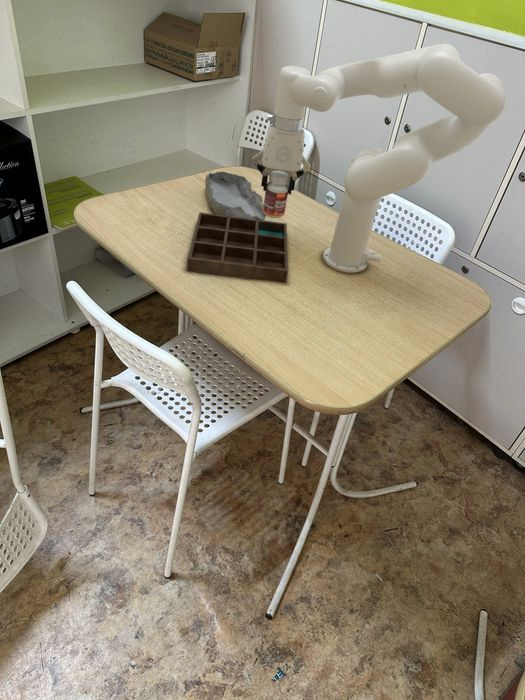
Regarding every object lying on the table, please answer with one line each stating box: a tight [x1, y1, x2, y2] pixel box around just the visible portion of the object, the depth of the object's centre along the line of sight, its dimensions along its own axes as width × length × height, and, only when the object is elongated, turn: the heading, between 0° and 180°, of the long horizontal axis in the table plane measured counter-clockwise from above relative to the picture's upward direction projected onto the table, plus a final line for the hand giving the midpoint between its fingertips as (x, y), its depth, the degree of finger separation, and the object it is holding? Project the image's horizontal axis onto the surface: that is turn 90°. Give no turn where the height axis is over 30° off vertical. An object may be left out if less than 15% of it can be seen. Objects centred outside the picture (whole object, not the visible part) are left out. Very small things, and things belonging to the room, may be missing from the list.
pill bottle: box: [263, 170, 290, 219], centre depth 142 cm, size 6×6×11 cm
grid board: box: [186, 211, 289, 284], centre depth 143 cm, size 26×26×4 cm
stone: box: [204, 170, 267, 221], centre depth 162 cm, size 14×8×30 cm
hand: (277, 190), depth 141 cm, fingers closed on pill bottle, 6 cm apart
